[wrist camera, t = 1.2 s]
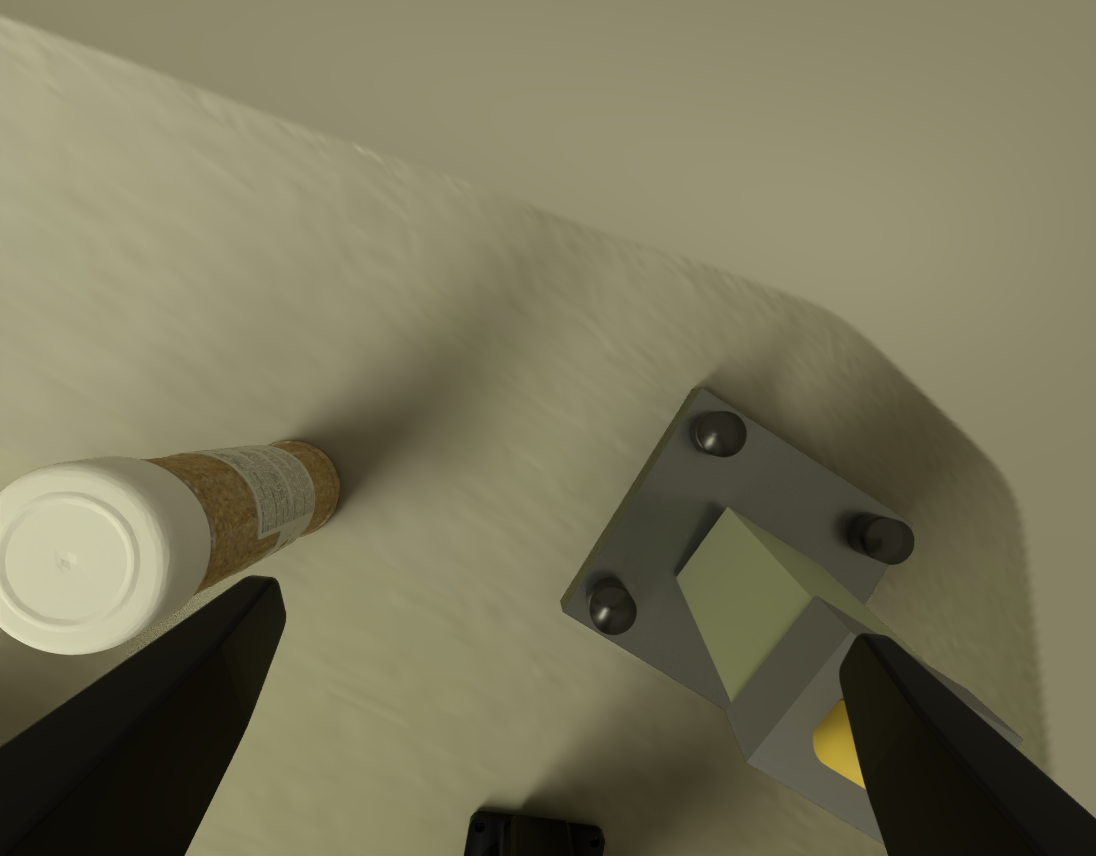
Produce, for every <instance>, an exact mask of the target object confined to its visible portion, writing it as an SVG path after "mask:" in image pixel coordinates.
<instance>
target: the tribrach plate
mask: <svg viewBox="0 0 1096 856" xmlns="http://www.w3.org/2000/svg"><path fill="white" fill-rule="evenodd" d="M727 507H729V508H731V509H732V510H734V511H735V512H737V513H739V514H740V515H742V516H743V517H745V518H747V519H748V520H750V521H751V522H753V523H754V524H756V525H758V526H759V527H761V528H762V529H764V530H766V531H767V532H769V533H770V534H772V535H773V536H775V537H777V538H778V539H780V540H781V541H783V542H785V543H786V544H788V545H789V546H791V547H792V548H794V549H796V550H797V551H799V552H800V553H802V554H804V555H805V556H807V557H808V558H810V559H811V560H813V561H815V562H816V563H818V564H819V565H821V566H822V567H823V568H824V569H825V570H826V571H827V572H828V573H829V574H830V575H832V576H833V577H834V578H835V579H836V580H837V581H838V582H839V583H840V584H841V585H842V586H844V587H845V588H846V589H847V590H848V591H849V592H850V593H851V594H852V595H853V596H854V597H855V598H857V599H858V600H859V601H860V602H861V603H862V604H863V605H864V604H865V603H866V601H867V600H868V598H869V596H870V595H871V593H872V591H873V590H874V588H875V587H876V585H877V583H878V582H879V580H880V578H881V577H882V575H883V573H884V572H885V570H886V569H887V567H888V565H895V564H899V563H901V562H903V561H905V560H906V559H907V558H908V557H909V556H910V554H911V553H912V551H913V548H914V536H913V533H912V531H911V528H912V526H913V525H914V524H912V523H911V522H909V521H908V520H906V519H905V518H903V517H901V516H900V515H898V514H897V513H895V512H894V511H892V510H891V509H889V508H887V507H886V506H884V505H883V504H881V503H880V502H878V501H877V500H875V499H874V498H872V497H870V496H869V495H867V494H866V493H864V492H863V491H861V490H860V489H858V488H856V487H855V486H853V485H852V484H850V483H849V482H847V481H846V480H844V479H843V478H841V477H839V476H838V475H836V474H835V473H833V472H832V471H830V470H829V469H827V468H825V467H824V466H822V465H821V464H819V463H818V462H816V461H815V460H813V459H812V458H810V457H808V456H807V455H805V454H804V453H802V452H801V451H799V450H798V449H796V448H794V447H793V446H791V445H790V444H788V443H787V442H785V441H784V440H782V439H781V438H779V437H777V436H776V435H774V434H773V433H771V432H770V431H768V430H767V429H765V428H763V427H762V426H760V425H759V424H757V423H756V422H754V421H753V420H751V419H750V418H748V417H746V416H745V415H743V414H742V413H740V412H739V411H737V410H736V409H734V408H732V407H731V406H729V405H728V404H726V403H725V402H723V401H722V400H720V399H719V398H717V397H715V396H714V395H712V394H711V393H709V392H708V391H706V390H705V389H703V388H698V389H692V390H691V391H690V393H689V395H688V396H687V398H686V399H685V401H684V403H683V404H682V406H681V408H680V409H679V411H678V412H677V414H676V416H675V417H674V419H673V420H672V422H671V424H670V425H669V427H668V428H667V430H666V432H665V433H664V435H663V436H662V438H661V440H660V441H659V443H658V444H657V446H656V448H655V449H654V451H653V453H652V454H651V456H650V457H649V459H648V461H647V462H646V464H645V465H644V467H643V469H642V470H641V472H640V473H639V475H638V477H637V478H636V480H635V481H634V483H633V485H632V486H631V488H630V490H629V491H628V493H627V494H626V496H625V498H624V499H623V501H622V502H621V504H620V506H619V507H618V509H617V510H616V512H615V514H614V515H613V517H612V518H611V520H610V522H609V523H608V525H607V526H606V528H605V530H604V531H603V533H602V535H601V536H600V538H599V539H598V541H597V543H596V544H595V546H594V547H593V549H592V551H591V552H590V554H589V555H588V557H587V559H586V560H585V562H584V563H583V565H582V567H581V568H580V570H579V572H578V573H577V575H576V576H575V578H574V580H573V581H572V583H571V584H570V586H569V588H568V589H567V591H566V592H565V594H564V596H563V597H562V599H561V600H560V603H561V607H562V611H563V612H564V613H565V614H567V615H569V616H570V617H572V618H574V619H575V620H577V621H579V622H580V623H582V624H584V625H585V626H587V627H589V628H590V629H592V630H594V631H595V632H597V633H598V634H600V635H602V636H603V637H605V638H607V639H608V640H610V641H612V642H613V643H615V644H617V645H618V646H620V647H622V648H623V649H625V650H627V651H628V652H630V653H632V654H633V655H635V656H637V657H638V658H640V659H642V660H643V661H645V662H647V663H648V664H650V665H652V666H653V667H655V668H657V669H658V670H660V671H661V672H663V673H665V674H666V675H668V676H670V677H671V678H673V679H675V680H676V681H678V682H680V683H681V684H683V685H685V686H686V687H688V688H690V689H691V690H693V691H695V692H696V693H698V694H700V695H701V696H703V697H705V698H706V699H708V700H710V701H711V702H713V703H715V704H716V705H718V706H720V707H721V708H723V709H725V710H727V708H728V707H729V706H730V704H731V701H730V698H729V696H728V694H727V692H726V689H725V687H724V685H723V683H722V680H721V678H720V676H719V674H718V671H717V669H716V667H715V665H714V662H713V660H712V658H711V656H710V653H709V651H708V649H707V647H706V644H705V642H704V640H703V638H702V635H701V633H700V631H699V629H698V626H697V624H696V622H695V620H694V617H693V615H692V613H691V611H690V608H689V606H688V604H687V602H686V599H685V597H684V595H683V593H682V590H681V588H680V586H679V584H678V581H677V579H676V578H677V576H678V575H679V573H680V572H681V571H682V569H683V568H684V566H685V565H686V564H687V562H688V561H689V560H690V558H691V557H692V555H693V554H694V553H695V551H696V550H697V548H698V547H699V546H700V544H701V543H702V541H703V540H704V539H705V537H706V536H707V535H708V533H709V532H710V530H711V529H712V528H713V526H714V525H715V523H716V522H717V521H718V519H719V518H720V517H721V515H722V514H723V512H724V511H725V510H726V508H727Z"/></svg>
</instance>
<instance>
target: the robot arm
mask: <svg viewBox="0 0 1096 856" xmlns="http://www.w3.org/2000/svg"><path fill="white" fill-rule="evenodd" d="M285 623H286V611H285V606H284V602H283V598H282V594H281V590H280V585H279V582H278V581H277V580H276V579H275V578H273V577H266V576H256V575H251V576H248V577H245V578H244V579H242V580H240V581H239V582H238V583H236V584H235V585H233V586H232V587H230V588H229V589H227V590H226V591H225V592H223V593H222V594H220V595H219V596H217V597H216V598H214V599H213V600H212V601H210V602H209V603H207V604H206V605H204V606H203V607H201V608H200V609H199V610H197V611H196V612H194V613H193V614H191V615H190V616H188V617H187V618H186V619H184V620H183V621H181V622H180V623H178V624H177V625H175V626H174V627H172V628H171V629H170V630H168V631H167V632H165V633H164V634H162V635H161V636H159V637H158V638H157V639H155V640H154V641H152V642H151V643H149V644H148V645H146V646H145V647H144V648H142V649H141V650H139V651H138V652H136V653H135V654H133V655H132V656H131V657H129V658H128V659H126V660H125V661H123V662H122V663H120V664H119V665H117V666H116V667H115V668H113V669H112V670H110V671H109V672H107V673H106V674H104V675H103V676H102V677H100V678H99V679H97V680H96V681H94V682H93V683H91V684H90V685H89V686H87V687H86V688H84V689H83V690H81V691H80V692H78V693H77V694H76V695H74V696H73V697H71V698H70V699H68V700H67V701H65V702H64V703H62V704H61V705H60V706H58V707H57V708H55V709H54V710H52V711H51V712H49V713H48V714H47V715H45V716H44V717H42V718H41V719H39V720H38V721H36V722H35V723H34V724H32V725H31V726H29V727H28V728H26V729H25V730H23V731H22V732H21V733H19V734H18V735H16V736H15V737H13V738H12V739H10V740H9V741H8V742H6V743H5V744H3V745H2V746H0V856H185V854H186V852H187V850H188V847H189V845H190V843H191V841H192V839H193V837H194V835H195V833H196V831H197V829H198V827H199V825H200V823H201V821H202V819H203V817H204V815H205V813H206V811H207V809H208V807H209V805H210V803H211V801H212V799H213V796H214V794H215V792H216V790H217V788H218V786H219V784H220V782H221V780H222V778H223V776H224V774H225V772H226V770H227V768H228V766H229V764H230V762H231V760H232V758H233V756H234V754H235V752H236V750H237V747H238V745H239V743H240V741H241V739H242V737H243V735H244V733H245V730H246V728H247V726H248V724H249V721H250V719H251V716H252V714H253V711H254V709H255V706H256V703H257V700H258V698H259V695H260V692H261V690H262V687H263V684H264V682H265V679H266V676H267V673H268V671H269V668H270V665H271V663H272V660H273V657H274V654H275V652H276V649H277V646H278V644H279V641H280V638H281V635H282V633H283V630H284V627H285ZM839 681H840V686H841V690H842V694H843V698H844V702H845V707H846V711H847V715H848V719H849V724H850V728H851V732H852V736H853V741H854V745H855V749H856V753H857V758H858V762H859V766H860V770H861V774H862V777H863V781H864V785H865V788H866V791H867V794H868V797H869V801H870V804H871V806H872V809H873V812H874V815H875V818H876V821H877V824H878V827H879V830H880V833H881V836H882V839H883V842H884V844H885V847H886V850H887V853H888V856H1096V818H1095V817H1093V816H1092V815H1091V814H1090V813H1089V812H1088V811H1087V810H1086V809H1084V808H1083V807H1082V806H1081V805H1080V804H1079V803H1078V802H1076V801H1075V800H1074V799H1073V798H1072V797H1071V796H1070V795H1068V794H1067V793H1066V792H1065V791H1064V790H1063V789H1062V788H1061V787H1059V786H1058V785H1057V784H1056V783H1055V782H1054V781H1053V780H1052V779H1050V778H1049V777H1048V776H1047V775H1046V774H1045V773H1044V772H1043V771H1041V770H1040V769H1039V768H1038V767H1037V766H1036V765H1035V764H1033V763H1032V762H1031V761H1030V760H1029V759H1028V758H1027V757H1026V756H1024V755H1023V754H1022V753H1021V752H1020V751H1019V750H1018V749H1017V748H1015V747H1014V746H1013V745H1012V744H1011V743H1010V742H1009V741H1007V740H1006V739H1005V738H1004V737H1003V736H1002V735H1001V734H1000V733H998V732H997V731H996V730H995V729H994V728H993V727H992V726H990V725H989V724H988V723H987V722H986V721H985V720H984V719H983V718H981V717H980V716H979V715H978V714H977V713H976V712H975V711H973V710H972V709H971V708H970V707H969V706H968V705H967V704H966V703H964V702H963V701H962V700H961V699H960V698H959V697H958V696H957V695H955V694H954V693H953V692H952V691H951V690H950V689H949V688H947V687H946V686H945V685H944V684H943V683H942V682H941V681H940V680H938V679H937V678H936V677H935V676H934V675H933V674H932V673H930V672H929V671H928V670H927V669H926V668H925V667H924V666H923V665H921V664H920V663H919V662H918V661H917V660H916V659H915V658H913V657H912V656H911V655H910V654H909V653H908V652H907V651H906V650H904V649H903V648H902V647H901V646H900V645H899V644H898V643H897V642H895V641H894V640H893V639H892V638H890V637H888V636H886V635H880V634H869V633H861V634H859V635H858V636H856V638H855V639H854V641H853V643H852V645H851V647H850V648H849V650H848V652H847V654H846V656H845V657H844V659H843V661H842V663H841V665H840V669H839ZM478 822H482V823H484V825H483V826H481V827H479V826H477V825H476V823H478ZM592 837H597V838H598V839H597V840H596V841H590V839H591V838H592ZM604 844H605V839H604V835H603V832H602V830H601V829H600V828H599V827H597V826H592V825H584V824H576V823H569V822H566V821H561V820H554V819H546V818H538V817H531V816H523V815H508V814H500V813H493V812H485V811H478V812H476V813H474V814H473V815H472V816H471V819H470V823H469V828H468V834H467V839H466V845H465V851H464V856H602V855H603V850H604Z"/></svg>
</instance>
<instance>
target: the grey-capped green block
mask: <svg viewBox="0 0 1096 856" xmlns="http://www.w3.org/2000/svg"><path fill="white" fill-rule="evenodd" d="M676 579H677V581H678V584H679V586H680V588H681V590H682V593H683V595H684V597H685V599H686V602H687V604H688V606H689V608H690V611H691V613H692V615H693V617H694V620H695V622H696V624H697V626H698V629H699V631H700V633H701V635H702V638H703V640H704V642H705V644H706V647H707V649H708V651H709V653H710V656H711V658H712V660H713V662H714V665H715V667H716V669H717V671H718V674H719V676H720V678H721V680H722V683H723V685H724V687H725V689H726V692H727V694H728V696H729V698H730V701H731V704H730V706H729V707H728V708H727V710H726V711H725V713H726V715H727V717H728V720H729V722H730V725H731V727H732V729H733V732H734V734H735V737H736V739H737V741H738V744H739V746H740V749H741V751H742V753H743V756H744V758H745V761H746V763H748V764H750V765H751V766H753V767H755V768H756V769H758V770H760V771H761V772H763V773H765V774H766V775H768V776H770V777H771V778H773V779H775V780H777V781H778V782H780V783H782V784H783V785H785V786H787V787H788V788H790V789H792V790H793V791H795V792H797V793H798V794H800V795H802V796H803V797H805V798H807V799H808V800H810V801H812V802H813V803H815V804H817V805H818V806H820V807H822V808H823V809H825V810H827V811H828V812H830V813H832V814H833V815H835V816H837V817H838V818H840V819H842V820H843V821H845V822H847V823H848V824H850V825H852V826H854V827H855V828H857V829H859V830H860V831H862V832H864V833H865V834H867V835H869V836H870V837H872V838H874V839H875V840H877V841H879V842H880V843H882V844H884V842H883V839H882V836H881V833H880V830H879V827H878V824H877V821H876V818H875V815H874V812H873V809H872V806H871V804H870V801H869V797H868V794H867V791H866V788H865V785H864V781H863V777H862V774H861V770H860V766H859V762H858V758H857V753H856V749H855V745H854V741H853V736H852V732H851V728H850V724H849V719H848V715H847V711H846V707H845V702H844V698H843V694H842V690H841V686H840V681H839V669H840V665H841V663H842V661H843V659H844V657H845V656H846V654H847V652H848V650H849V648H850V647H851V645H852V643H853V641H854V639H855V638H856V636H858V635H859V634H861V633H869V634H880V635H886V636H888V637H890V638H892V639H893V640H894V641H895V642H897V643H898V644H899V645H900V646H901V647H902V648H903V649H904V650H906V651H907V652H908V653H909V654H910V655H911V656H912V657H913V658H915V659H916V660H917V661H918V662H919V663H920V664H921V665H923V666H924V667H925V668H926V669H927V670H928V671H929V672H930V673H932V674H933V675H934V676H935V677H936V678H937V679H938V680H940V681H941V682H942V683H943V684H944V685H945V686H946V687H947V688H949V689H950V690H951V691H952V692H953V693H954V694H955V695H957V696H958V697H959V698H960V699H961V700H962V701H963V702H964V703H966V704H967V705H968V706H969V707H970V708H971V709H972V710H973V711H975V712H976V713H977V714H978V715H979V716H980V717H981V718H983V719H984V720H985V721H986V722H987V723H988V724H989V725H990V726H992V727H993V728H994V729H995V730H996V731H997V732H998V733H1000V734H1001V735H1002V736H1003V737H1004V738H1005V739H1006V740H1007V741H1009V742H1010V743H1011V744H1012V745H1013V746H1014V747H1015V748H1016V747H1017V746H1018V745H1019V744H1020V742H1021V741H1022V740H1023V739H1022V738H1021V737H1020V736H1019V735H1018V734H1016V733H1015V732H1014V731H1013V730H1012V729H1011V728H1010V727H1009V726H1008V725H1006V724H1005V723H1004V722H1003V721H1002V720H1001V719H1000V718H999V717H997V716H996V715H995V714H994V713H993V712H992V711H991V710H990V709H988V708H987V707H986V706H985V705H984V704H983V703H982V702H981V701H980V700H978V699H977V698H976V697H975V696H974V695H973V694H972V693H971V692H969V691H968V690H967V689H965V688H964V687H962V686H961V685H959V684H957V683H956V682H954V681H953V680H951V679H949V678H948V677H946V676H945V675H943V674H941V673H940V672H938V671H937V670H935V669H933V668H932V667H930V666H929V665H928V664H927V663H926V662H925V661H924V660H923V659H922V658H921V657H919V656H918V655H917V654H916V653H915V652H914V651H913V650H912V649H911V648H910V647H909V646H908V645H906V644H905V643H904V642H903V641H902V640H901V639H900V638H899V637H898V636H897V635H896V634H895V633H893V632H892V631H891V630H890V629H889V628H888V627H887V626H886V625H885V624H884V623H883V622H881V621H880V620H879V619H878V618H877V617H876V616H875V615H874V614H873V613H872V612H871V611H870V610H868V609H867V608H866V607H865V606H864V605H863V604H862V603H861V602H860V601H859V600H858V599H857V598H855V597H854V596H853V595H852V594H851V593H850V592H849V591H848V590H847V589H846V588H845V587H844V586H842V585H841V584H840V583H839V582H838V581H837V580H836V579H835V578H834V577H833V576H832V575H830V574H829V573H828V572H827V571H826V570H825V569H824V568H823V567H822V566H821V565H819V564H818V563H816V562H815V561H813V560H811V559H810V558H808V557H807V556H805V555H804V554H802V553H800V552H799V551H797V550H796V549H794V548H792V547H791V546H789V545H788V544H786V543H785V542H783V541H781V540H780V539H778V538H777V537H775V536H773V535H772V534H770V533H769V532H767V531H766V530H764V529H762V528H761V527H759V526H758V525H756V524H754V523H753V522H751V521H750V520H748V519H747V518H745V517H743V516H742V515H740V514H739V513H737V512H735V511H734V510H732V509H731V508H729V507H727V508H726V510H725V511H724V512H723V514H722V515H721V517H720V518H719V519H718V521H717V522H716V523H715V525H714V526H713V528H712V529H711V530H710V532H709V533H708V535H707V536H706V537H705V539H704V540H703V541H702V543H701V544H700V546H699V547H698V548H697V550H696V551H695V553H694V554H693V555H692V557H691V558H690V560H689V561H688V562H687V564H686V565H685V566H684V568H683V569H682V571H681V572H680V573H679V575H678V576H677V578H676ZM884 845H885V844H884Z"/></svg>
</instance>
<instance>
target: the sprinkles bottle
mask: <svg viewBox="0 0 1096 856" xmlns="http://www.w3.org/2000/svg"><path fill="white" fill-rule="evenodd" d="M339 489H340V481H339V478H338V476H337V472H336V469H335V467H334V466H333V464H332V462H331V460H330V459H329V458H328V457H327V456H326V455H325V454H324V453H323V452H322V451H321V450H319V449H317V448H316V447H314V446H312V445H310V444H307V443H304V442H299V441H280V442H277V443H272V444H270V445H268V446H265V445H255V446H244V447H235V448H225V449H215V450H205V451H195V452H185V453H179V454H175V455H171V456H168V457H163V458H155V459H146V460H143V459H136V458H130V457H102V458H93V459H85V460H77V461H70V462H64V463H58V464H53V465H49V466H45V467H42V468H39V469H37V470H34V471H32V472H29V473H27V474H25V475H24V476H22V477H20V478H18V479H17V480H15V481H14V482H12V483H11V484H9V485H8V486H7V487H6V488H5V489H3V490H2V491H1V492H0V628H2V629H3V630H4V631H5V632H6V633H8V634H9V635H10V636H12V637H13V638H15V639H17V640H19V641H20V642H22V643H24V644H26V645H28V646H31V647H33V648H36V649H39V650H42V651H46V652H51V653H57V654H66V655H76V654H90V653H95V652H99V651H103V650H107V649H110V648H112V647H115V646H117V645H120V644H122V643H124V642H126V641H128V640H130V639H132V638H134V637H136V636H138V635H140V634H141V633H143V632H145V631H147V630H148V629H150V628H152V627H154V626H155V625H157V624H159V623H160V622H162V621H164V620H166V619H167V618H169V617H170V616H172V615H173V614H175V613H176V612H177V611H179V610H180V609H181V608H182V607H183V606H184V605H185V604H186V603H187V602H188V601H189V600H190V599H191V597H192V596H194V595H195V594H197V593H199V592H201V591H203V590H205V589H207V588H208V587H210V586H213V585H214V584H216V583H218V582H220V581H222V580H224V579H225V578H227V577H230V576H232V575H234V574H237V573H239V572H241V571H243V570H245V569H246V568H248V567H249V566H251V565H253V564H255V563H257V562H259V561H261V560H262V559H264V558H266V557H268V556H270V555H271V554H273V553H275V552H277V551H279V550H280V549H282V548H284V547H286V546H287V545H289V544H291V543H292V542H293V541H295V540H296V539H297V538H298V537H302V536H305V535H308V534H310V533H312V532H314V531H315V530H317V529H318V528H320V527H321V526H323V525H324V524H325V523H326V522H327V521H328V519H329V518H330V517H331V515H332V514H333V512H334V510H335V508H336V505H337V502H338V498H339V493H340V491H339Z"/></svg>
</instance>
